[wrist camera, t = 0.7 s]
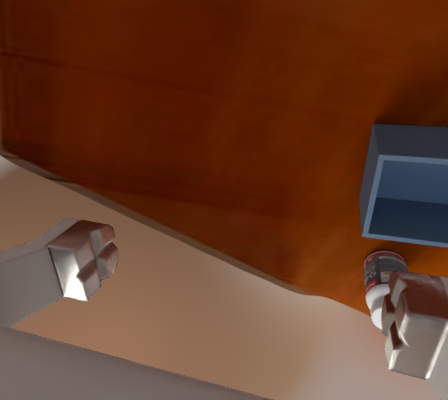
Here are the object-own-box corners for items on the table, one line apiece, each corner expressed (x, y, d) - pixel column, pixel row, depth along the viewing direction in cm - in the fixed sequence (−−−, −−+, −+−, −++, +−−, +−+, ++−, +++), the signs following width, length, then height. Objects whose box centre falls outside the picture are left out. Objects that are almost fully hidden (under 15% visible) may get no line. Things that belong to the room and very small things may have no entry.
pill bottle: (364, 247, 49) (367, 300, 41) (408, 249, 47) (421, 305, 39) (362, 277, 52) (366, 331, 44) (404, 279, 50) (415, 337, 42)
